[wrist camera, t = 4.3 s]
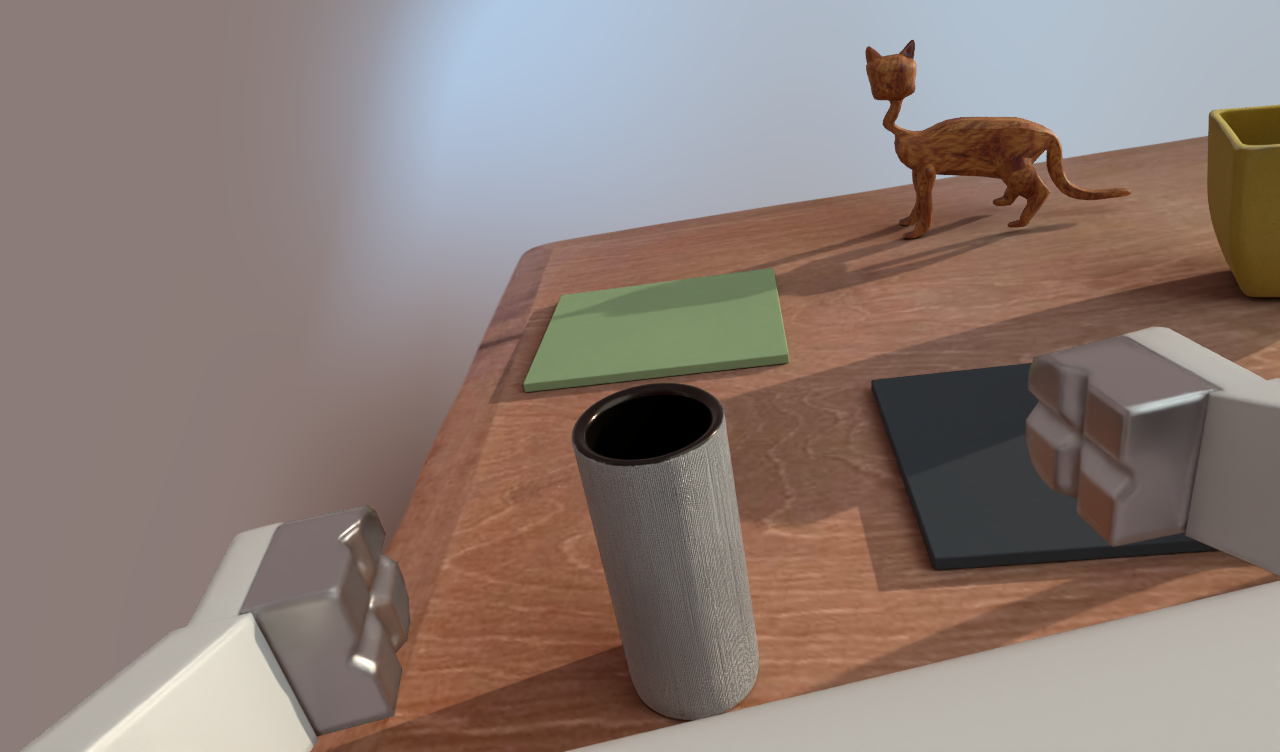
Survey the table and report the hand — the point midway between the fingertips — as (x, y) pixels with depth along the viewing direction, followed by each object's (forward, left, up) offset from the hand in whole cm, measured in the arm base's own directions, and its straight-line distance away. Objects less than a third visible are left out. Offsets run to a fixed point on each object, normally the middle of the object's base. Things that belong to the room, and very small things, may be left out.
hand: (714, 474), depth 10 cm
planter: (-3, +12, -17) cm, 21 cm away
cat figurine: (+19, +53, -17) cm, 59 cm away
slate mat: (+14, +23, -16) cm, 32 cm away
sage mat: (-6, +41, -16) cm, 44 cm away
